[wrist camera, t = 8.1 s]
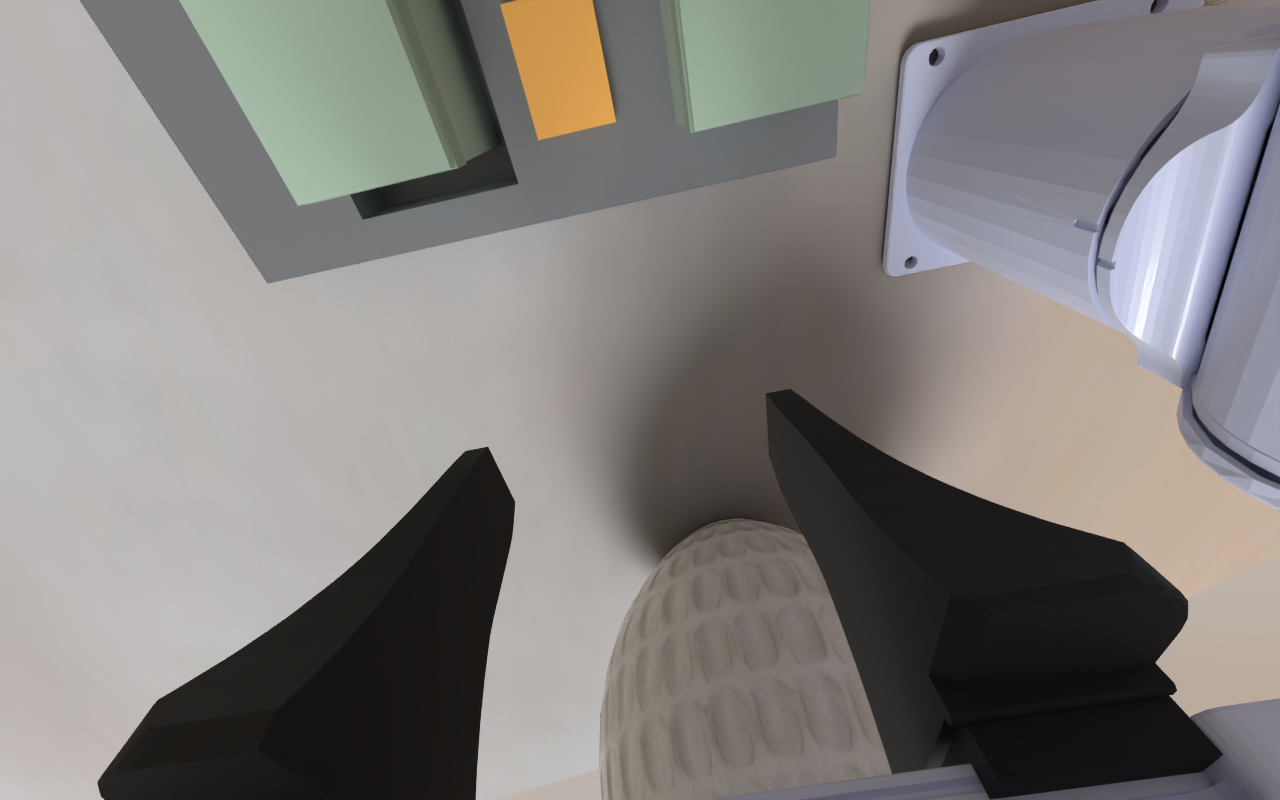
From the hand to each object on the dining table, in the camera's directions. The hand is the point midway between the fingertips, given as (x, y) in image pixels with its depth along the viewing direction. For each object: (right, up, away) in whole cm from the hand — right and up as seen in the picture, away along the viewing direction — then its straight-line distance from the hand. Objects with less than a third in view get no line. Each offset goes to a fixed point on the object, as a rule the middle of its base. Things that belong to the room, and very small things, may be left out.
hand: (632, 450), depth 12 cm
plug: (-7, +11, +3) cm, 14 cm away
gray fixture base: (-4, +12, +4) cm, 13 cm away
